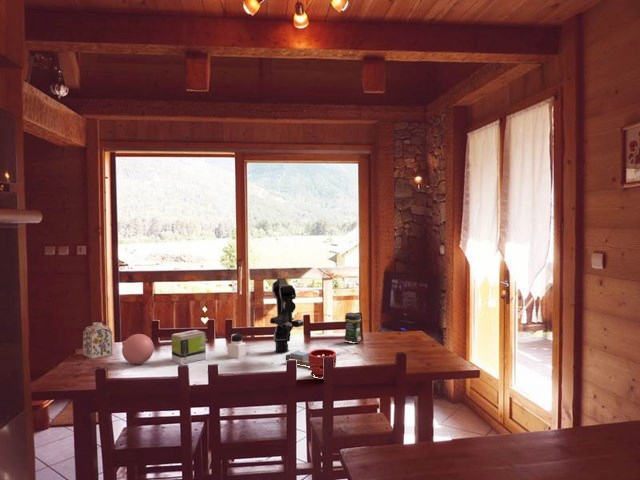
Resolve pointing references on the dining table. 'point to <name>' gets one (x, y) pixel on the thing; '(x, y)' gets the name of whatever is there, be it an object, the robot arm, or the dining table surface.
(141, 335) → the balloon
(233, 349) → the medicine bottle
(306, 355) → the block
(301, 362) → the chute
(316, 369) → the plant pot
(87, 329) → the decorative jar
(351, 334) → the coffee jar
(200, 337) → the tea box
